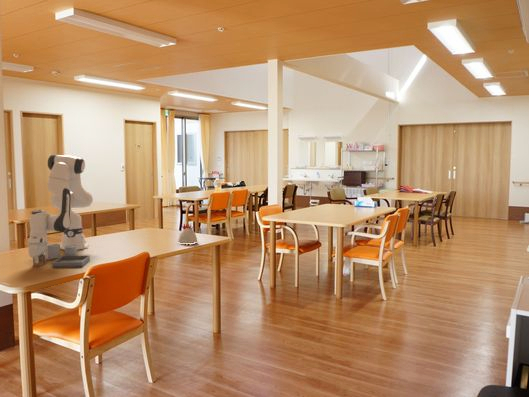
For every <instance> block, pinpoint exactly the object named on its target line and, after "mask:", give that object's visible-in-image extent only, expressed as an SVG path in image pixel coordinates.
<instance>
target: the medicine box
mask: <svg viewBox="0 0 529 397" xmlns="http://www.w3.org/2000/svg"><path fill="white" fill-rule="evenodd" d="M60 247H61V243H58V242H57V243H49V244H48V250H47V251H46V252H44V255H45V260H47V259H48V260H53V259H55V260H56V259H58V258H60V257H61V249H60Z"/></svg>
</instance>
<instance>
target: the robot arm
mask: <svg viewBox="0 0 529 397" xmlns="http://www.w3.org/2000/svg"><path fill="white" fill-rule="evenodd" d="M47 168H48V169H49V170H50V173H49V175H48V181H47V189H48V190H49V192H51V194H52V197H51V204H52V206H53V207H55V208H56V209H57V210H58V211H59V213H58V214H51V213H48V212H47V211H45V209H35V210H33V211H31V212H30V215H29V228H30V231H29V238H28V239H27V244H28V255H29V257H30V258H33V257H34V259H35V263H39V258H38V257H39V255H45V252H46V251H47V250H48V231H51V232H58V233H63V235H61V243H60V250H64V251H65V246H72V245H74V246H77V251H79V250H82V249H83V250H84V249H89V244H90V243H89V242H87V241H86V237H85V235H84V233H83V231H84V230H83V229H84V227H83V224H82V223H83V222H82V220H83V219H82V216H81V215H80V214H79V213H76V211H73V210H72V209H81V208H87V207H90V206H91V205H92V204H93V200H94V199H93V198H94V197H93V196H92V195H93V194H92V193H90V192H89V191H87V190H86V189H85V188H84V187H83V185H82V179H81V174H82V173H83V172H84V171H85V169H86V162H85V160H84V159H83V158H81V157H78V156H72V155H63V154H62V155H61V154H51V155H50V156H49V157H48V159H47Z"/></svg>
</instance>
